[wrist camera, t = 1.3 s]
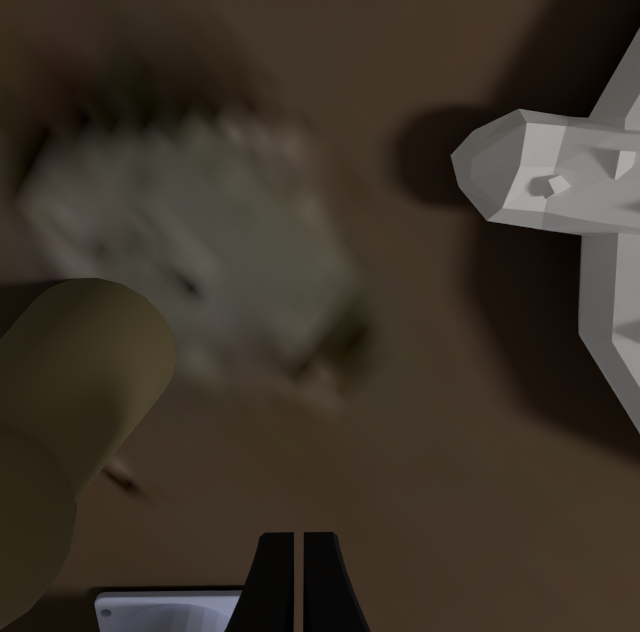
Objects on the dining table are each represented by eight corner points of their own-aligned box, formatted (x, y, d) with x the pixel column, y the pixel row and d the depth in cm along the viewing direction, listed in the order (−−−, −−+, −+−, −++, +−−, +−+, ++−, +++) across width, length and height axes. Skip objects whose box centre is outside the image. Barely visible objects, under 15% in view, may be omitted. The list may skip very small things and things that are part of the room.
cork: (118, 439, 22) (-43, 728, 12) (-10, 353, 20) (-326, 605, 10) (207, 346, 20) (112, 586, 10) (77, 245, 19) (-193, 412, 9)
